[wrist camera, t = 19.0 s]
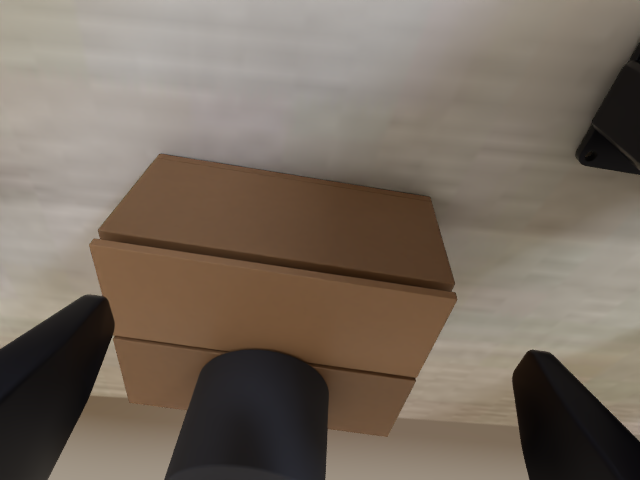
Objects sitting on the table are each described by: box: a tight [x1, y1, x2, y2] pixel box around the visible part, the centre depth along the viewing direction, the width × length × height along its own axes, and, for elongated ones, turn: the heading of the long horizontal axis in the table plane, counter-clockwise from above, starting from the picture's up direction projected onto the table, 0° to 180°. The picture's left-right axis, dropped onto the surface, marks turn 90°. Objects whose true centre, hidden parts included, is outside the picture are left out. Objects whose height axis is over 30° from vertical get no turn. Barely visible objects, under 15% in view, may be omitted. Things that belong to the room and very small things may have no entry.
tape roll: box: [165, 349, 329, 480], centre depth 18 cm, size 6×6×5 cm
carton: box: [98, 154, 455, 437], centre depth 22 cm, size 14×11×7 cm
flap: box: [89, 239, 457, 378], centre depth 17 cm, size 14×5×1 cm, turn 82°
